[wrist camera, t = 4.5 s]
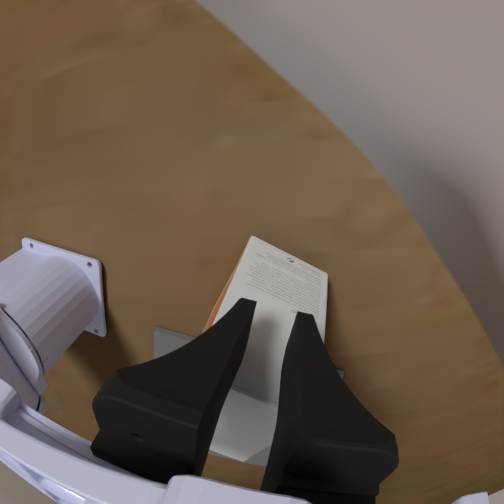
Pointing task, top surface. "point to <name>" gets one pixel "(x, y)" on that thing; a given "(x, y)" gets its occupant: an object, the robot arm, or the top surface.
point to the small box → (264, 341)
